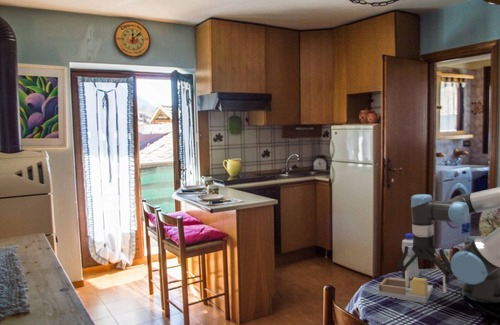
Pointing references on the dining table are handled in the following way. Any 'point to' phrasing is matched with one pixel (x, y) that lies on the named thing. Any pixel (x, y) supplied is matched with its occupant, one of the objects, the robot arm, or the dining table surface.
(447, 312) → the dining table surface
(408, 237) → the bottle
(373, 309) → the dining table surface
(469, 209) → the robot arm
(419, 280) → the block
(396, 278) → the crook tool
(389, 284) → the cubby deck
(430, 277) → the dining table surface
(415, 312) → the dining table surface
